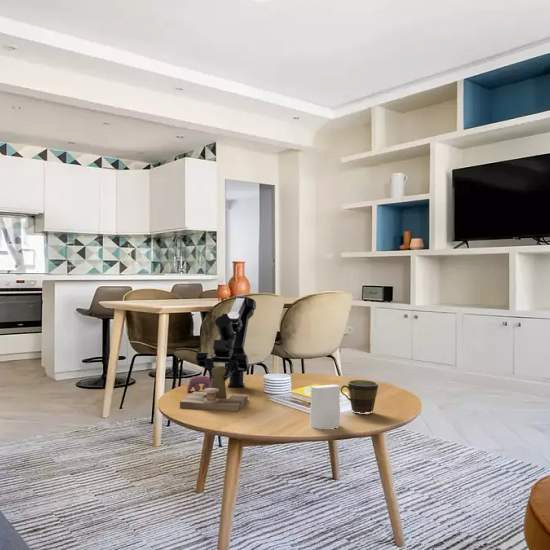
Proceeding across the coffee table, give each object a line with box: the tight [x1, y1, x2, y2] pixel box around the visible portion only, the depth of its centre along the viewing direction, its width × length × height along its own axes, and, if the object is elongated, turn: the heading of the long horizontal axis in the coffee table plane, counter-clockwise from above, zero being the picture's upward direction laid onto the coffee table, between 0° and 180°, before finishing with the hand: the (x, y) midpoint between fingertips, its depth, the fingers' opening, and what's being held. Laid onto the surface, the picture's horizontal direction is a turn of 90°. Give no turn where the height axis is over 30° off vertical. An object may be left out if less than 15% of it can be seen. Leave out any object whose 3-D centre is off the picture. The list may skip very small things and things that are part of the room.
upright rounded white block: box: [309, 383, 341, 430], centre depth 164 cm, size 9×9×12 cm
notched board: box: [179, 388, 249, 412], centre depth 188 cm, size 16×20×6 cm
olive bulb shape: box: [211, 366, 228, 399], centre depth 192 cm, size 6×6×11 cm
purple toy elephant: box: [186, 375, 213, 393], centre depth 207 cm, size 10×5×7 cm, turn 85°
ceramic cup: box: [340, 379, 379, 413], centre depth 180 cm, size 13×10×10 cm
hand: (217, 379), depth 190 cm, fingers closed on olive bulb shape, 5 cm apart
